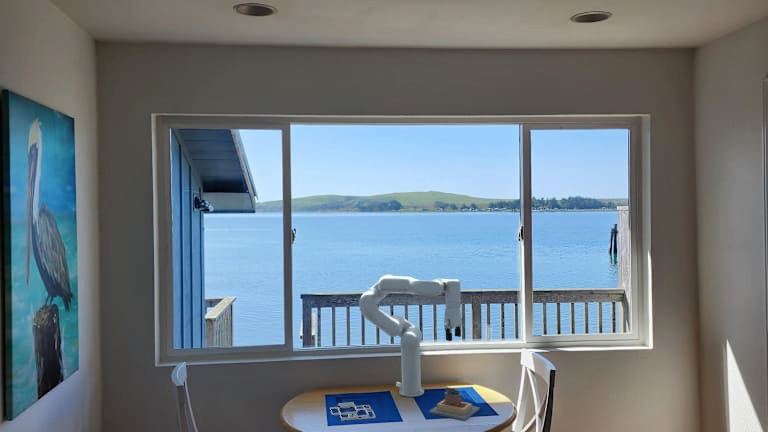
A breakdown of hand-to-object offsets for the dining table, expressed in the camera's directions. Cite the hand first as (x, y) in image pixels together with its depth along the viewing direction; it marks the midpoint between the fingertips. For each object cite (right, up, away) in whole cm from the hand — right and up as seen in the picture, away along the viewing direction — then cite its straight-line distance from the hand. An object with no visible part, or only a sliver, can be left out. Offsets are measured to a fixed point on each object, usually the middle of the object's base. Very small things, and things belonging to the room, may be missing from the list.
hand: (453, 338), depth 291 cm
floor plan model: (-52, -31, -21) cm, 64 cm away
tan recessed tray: (-2, -29, -21) cm, 36 cm away
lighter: (-3, -28, -22) cm, 36 cm away
